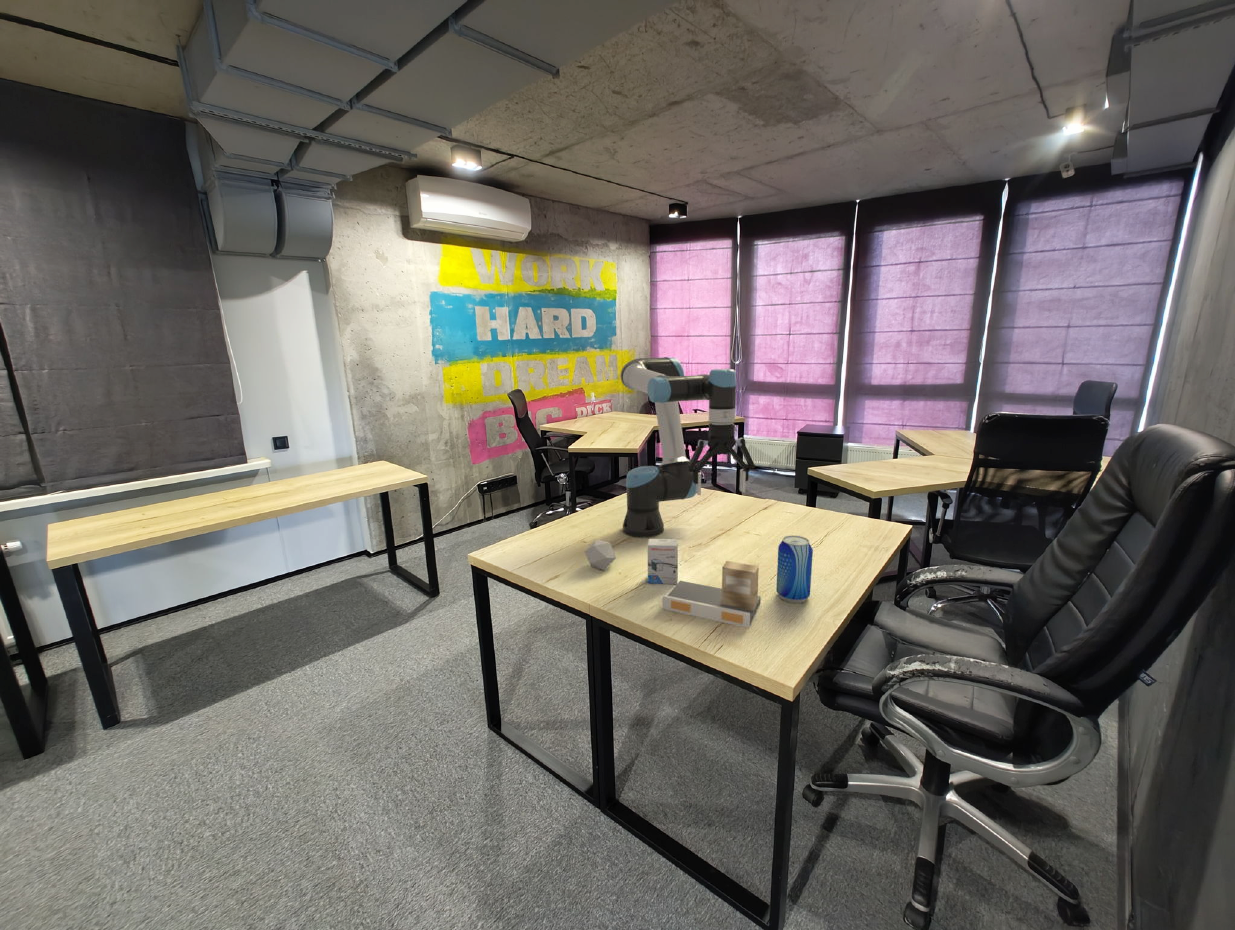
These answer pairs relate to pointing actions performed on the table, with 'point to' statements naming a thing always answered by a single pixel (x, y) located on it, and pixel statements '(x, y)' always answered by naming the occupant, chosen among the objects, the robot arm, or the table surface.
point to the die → (600, 554)
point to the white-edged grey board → (706, 604)
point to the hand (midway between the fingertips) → (720, 492)
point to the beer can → (794, 569)
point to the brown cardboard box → (740, 585)
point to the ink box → (662, 561)
